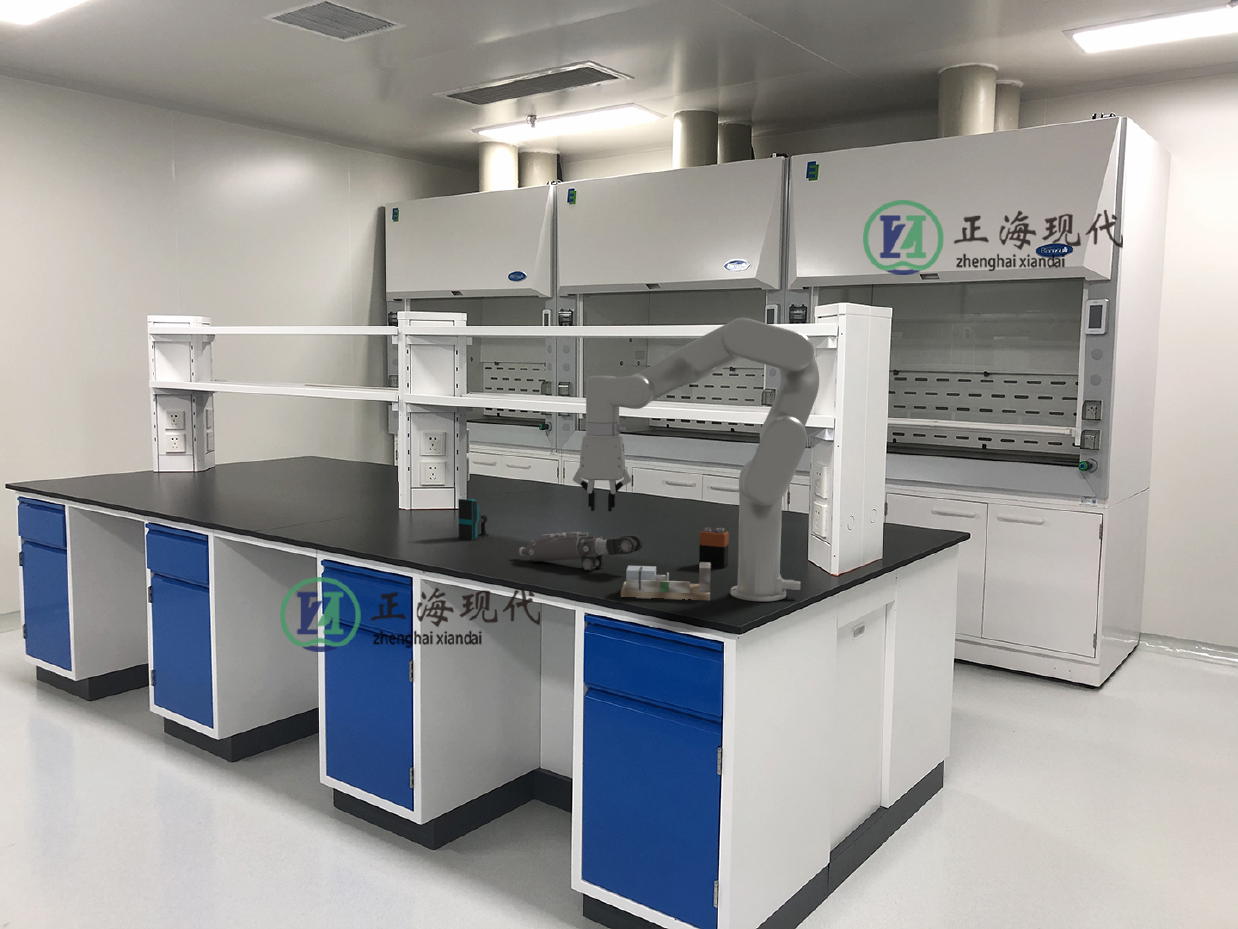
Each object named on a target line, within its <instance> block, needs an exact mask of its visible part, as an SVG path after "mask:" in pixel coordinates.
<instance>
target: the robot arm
mask: <svg viewBox="0 0 1238 929" xmlns="http://www.w3.org/2000/svg"><path fill="white" fill-rule="evenodd" d="M814 355H815V349H814V345H813V343H812V341H811V339H810V338H809V337H808V336H807V335H805V334H803V333H802V332H799V331H796V330H795V331H794V330H791V329H787V328H785V327H784V328H783V327H782V326H781V327H780V326H776V325H773V324H769V323H765V322H762V321H758V320H755V319H752V318H749V317H738V318H736V319H733V320H731V321H729V322H728V323H726V324H724V325H722V326H720V327H718V328H715V329H714V330H712V331H710V332H707V333H705V334H704V335H702V336H700V337H698V338H697V339H694V340H692V341H691V342H689V343H687V344H684V345H683V346H681V347H679V348H678V349H676V350H675V351H674V352H672V353H671V354H670V355H668V356H666V357H664V358H663V359H661V360H660V361H658V362H656V363H653V364H652V365H650V366H648V367H646V368H644V369H642V370H640V371H638V372H637V373H634V374H632V375H629V376H627V375H626V376H614V375H591V376H589V377H587V379H586V383H585V435H583V436H582V439H581V445H580V453H579V456H580V457H579V466H578V469H577V470H576V473H575V474H574V476H573V477H572V481H573V482H574V483H576V484H578V485H579V486H581V487H582V488H583V489H584V490H585V492H586V493H587V494H588V495H587V496H588V498H587V499H588V505H587V506H588V508H590V511H591V512H595V511H596V508H597V506H596V505H597V502H596V500H597V497H596V496H597V494H596V491H595V481H608V482H609V483H608V484H609V493H608V494H607V499H608V500H607V512H612V511H613V508H616V493H617V492H618V491H619V490H620V489H622V487H624V486H626V485H628V484H629V483H631V482H632V477H631V476H630V474H629V472H628V471H627V469H626V459H625V458H626V456H625V444H624V439H623V436H622V435H620V433H622V432H626V425H622V424H621V423H620V408H626V409H633V410H639V409H642V408H645V407H647V406H648V405H649V404H650V403H651V402H653V401H656V400H657V399H659V398H661V397H663V396H665V395H666V394H669V393H671V392H673V391H675V390H678V389H679V388H682V387H684V386H688V385H690V384H695V383H697V382H699V381H701V380H703V379H705V378H708V377H710V376H711V375H713V374H715V373H717V372H719V371H721V370H723V369H725V368H727V367H728V366H730V365H732V364H733V365H734V363H736V362H739V361H741V360H742V359H745V360H748V361H751V362H754V363H759V364H762V365H765V366H766V365H767V366H769V367H773V368H777V369H778V371H779V373H780V374H779V375H780V383H779V386H778V390H777V392H776V395H775V397H774V400H773V402H772V405H771V407H770V409H769V411H768V413H767V416H766V418H765V419H764V422H763V424H762V425H761V428H760V431H759V440H760V441H759V444H758V445H757V448H756V450H755V453H754V456H753V457H752V459H750V460H748V461H747V462H745V464H744V465H743V466H742V468H741V470H740V472H739V477H738V500H739V501H738V503H739V505H738V506H739V507H738V509H739V511H738V512H739V515H738V516H739V517H738V543H737V544H738V547H737V548H738V549H737V550H738V551H737V552H738V553H737V585H734V586H731V588H730V595H731V596H732V597H734V598H736V599H739V600H744V601H749V602H750V601H751V602H775V601H780V600H783V599H785V598H786V596H787V590H792V591H793V590H796V591H797V590H798V591H800V590H801V581H800V580H799V581H797V580H794V579H784V578H782V575H781V573H780V572H781V547H782V546H781V542H782V541H781V540H782V520H783V519H782V516H783V514H782V513H783V512H782V511H783V510H782V508H783V507H782V499H783V498H784V496H785V495H786V493H787V491H788V489H789V487H790V485H791V483H792V480H793V478H794V476H795V473H796V471H797V468H798V467H799V465H800V462H801V459H802V457H803V455H804V452H805V450H806V448H807V447H806V446H807V442H808V433H807V430H806V425H807V422H808V420H809V417H810V415H811V413H812V409H813V407H814V405H815V401H816V400H817V397H818V393H819V389H820V372H819V367H818V363H817V360H816V359H815V357H814ZM620 480H621V481H620ZM617 481H618V482H617Z"/></svg>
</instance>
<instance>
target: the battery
mask: <svg viewBox="0 0 1238 929" xmlns="http://www.w3.org/2000/svg"><path fill="white" fill-rule="evenodd" d="M729 534H730V533H729V531H726V530H725V528H723V527H717V528H715V529H711V527H705V528H704V530H702V531H699V546H698V547H699V548H698V550H699V552H698V554H699V556H698V560H699V561H698V562H699V563H698V566H700V562H708V563H711V568H717V569H723V568H725V567H727V566H728V564H729V540H730V539H729V538H730V537H729Z"/></svg>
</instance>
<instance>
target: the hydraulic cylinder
mask: <svg viewBox="0 0 1238 929" xmlns="http://www.w3.org/2000/svg"><path fill="white" fill-rule="evenodd" d="M643 545H644V540H643V539H642V537H641V536H639V535H637V534H633V535H632V534H631V535H630V534H629V535H619V536H618V535H617V536H614V537H610V538H607V539H604V536H602V535H589V532H588V531H586V532H581V531H573V532H562V533H559V532H558V533H548V534H547V533H546V534H540V535H539V538H538V539H531V540H530V541H529V542H528V544H527V545H526V547H524V546H521V547H519V548H518V549H517V554H518V555H520V556H525V555H526V556H527V557H528V558H529V559H530V560H531V561H532V562H550V561H551V562H552V561H553V562H554V561H570V560H572V561H573V560H580V561H581V566H582V569H583V570H584V571H586V570H589V571H588V572H591V571H595V569H600V568H603V566H604V565H607V564H608V563H607V562H605V557H604V555H605V554H606V553H608V556H615V555H630V554H631V553H634V552H637V551H640V550H642V548H643V547H644V546H643Z"/></svg>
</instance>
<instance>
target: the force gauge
mask: <svg viewBox="0 0 1238 929" xmlns="http://www.w3.org/2000/svg"><path fill="white" fill-rule="evenodd" d="M625 575H626V576H625V578H626V579H625V582H626V588H628V580H639V584H641V580H651V581H670V573H669V572H666V574H657V566H652V565H651V566H649V565H648V566H647V565H627V568H626V574H625Z"/></svg>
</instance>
